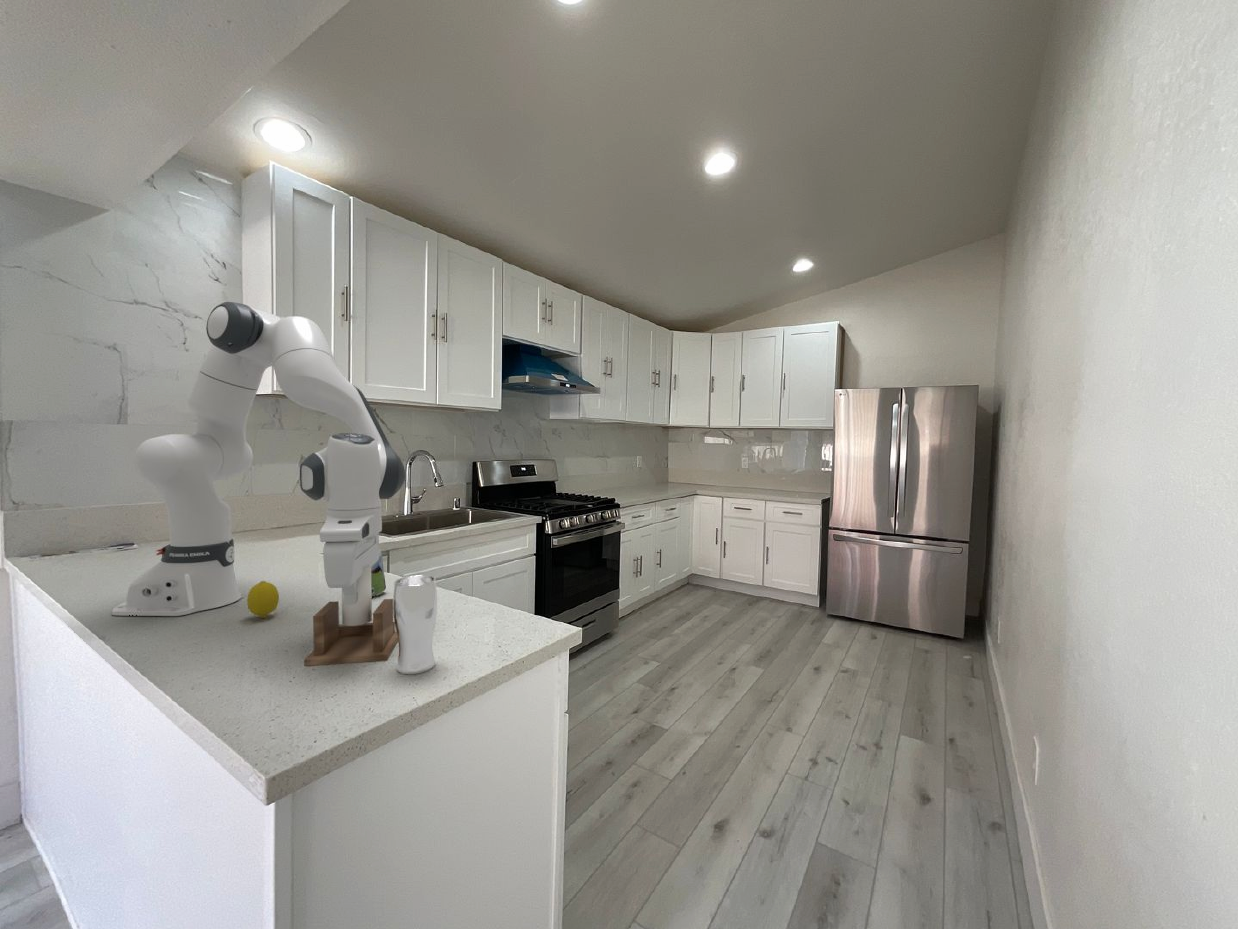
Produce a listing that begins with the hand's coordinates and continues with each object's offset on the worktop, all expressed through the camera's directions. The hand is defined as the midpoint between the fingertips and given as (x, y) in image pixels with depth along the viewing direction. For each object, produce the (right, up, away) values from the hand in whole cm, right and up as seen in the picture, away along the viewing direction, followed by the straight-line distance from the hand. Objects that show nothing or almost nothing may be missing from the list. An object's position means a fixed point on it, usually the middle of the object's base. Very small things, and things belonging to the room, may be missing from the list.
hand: (356, 598), depth 94 cm
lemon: (-28, -9, +16) cm, 33 cm away
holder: (0, -10, 0) cm, 10 cm away
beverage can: (-13, -8, +32) cm, 36 cm away
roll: (0, -4, 0) cm, 4 cm away
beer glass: (+13, -10, -6) cm, 18 cm away
